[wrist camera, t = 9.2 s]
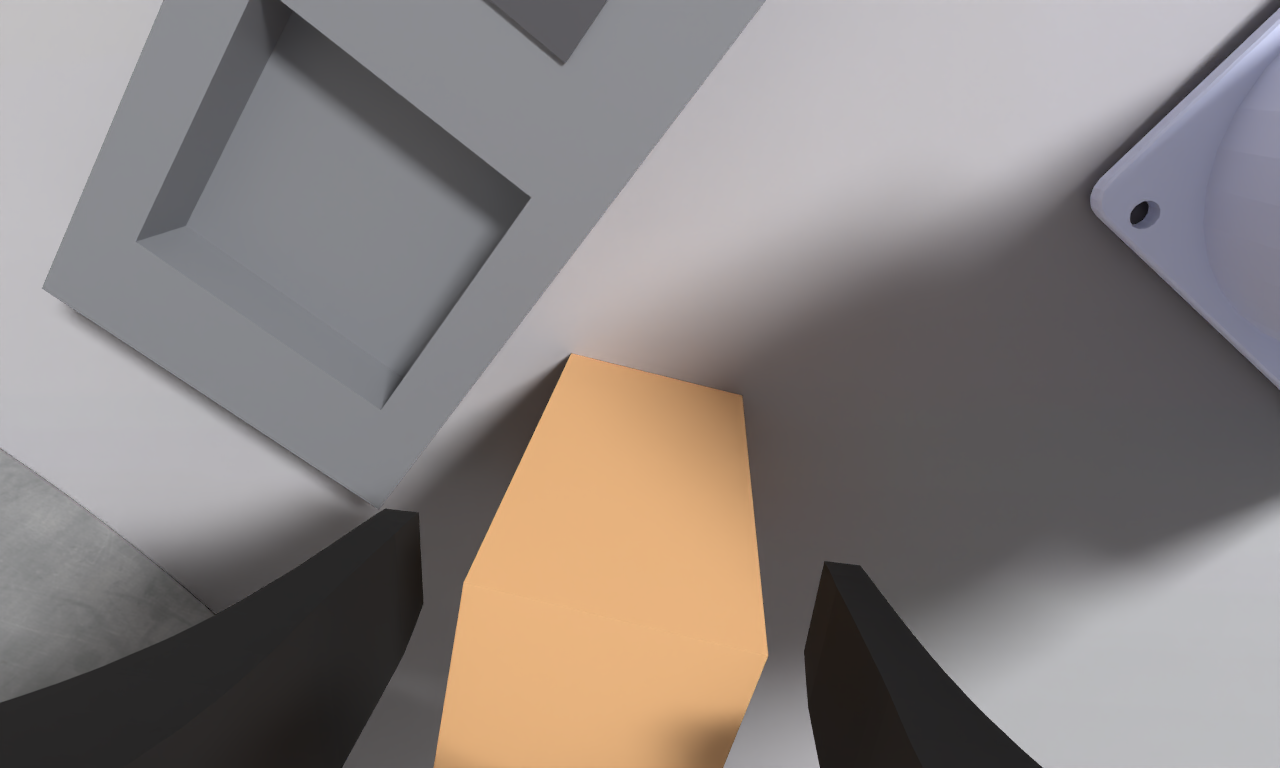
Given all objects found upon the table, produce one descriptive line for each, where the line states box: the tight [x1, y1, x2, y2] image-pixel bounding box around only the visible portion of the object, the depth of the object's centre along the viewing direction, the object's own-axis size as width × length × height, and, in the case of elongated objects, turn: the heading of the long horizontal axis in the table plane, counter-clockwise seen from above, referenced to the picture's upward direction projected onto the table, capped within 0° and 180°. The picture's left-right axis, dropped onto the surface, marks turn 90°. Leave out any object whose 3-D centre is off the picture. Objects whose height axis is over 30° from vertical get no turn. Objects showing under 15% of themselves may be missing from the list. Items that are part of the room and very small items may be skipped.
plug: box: [434, 353, 768, 768], centre depth 14 cm, size 4×4×8 cm
